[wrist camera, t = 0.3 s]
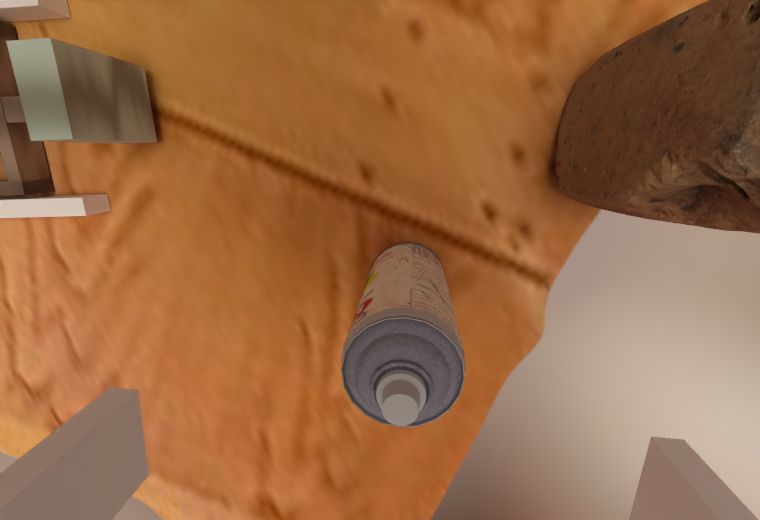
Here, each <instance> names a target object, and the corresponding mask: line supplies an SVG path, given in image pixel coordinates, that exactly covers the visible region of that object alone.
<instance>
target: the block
mask: <svg viewBox="0 0 760 520" xmlns="http://www.w3.org/2000/svg"><path fill="white" fill-rule="evenodd" d="M557 143H558V147H557V150H556V174H557V175H558V177H559V183H558V185H559V187H560V189H561V191H562V193H563V194H565V195H566V196H568V197H570V198H572V199H574V200H576V201H578V202H581V203H583V204H586V205H589V206H593V207H596V208H600V209H604V210H608V211H613V212H617V213H621V214H626V215H631V216H636V217H641V218H646V219H652V220H660V221H666V222H672V223H681V224H686V225H694V226H701V227H705V228H713V229H719V230H727V231H744V232H753V233H760V0H709V1H707V2H705V3H702V4H700V5H698V6H696V7H693V8H691V9H689V10H687V11H685V12H683V13H681V14H679V15H677V16H675V17H673V18H671V19H669V20H667V21H665V22H663V23H661V24H659V25H657V26H655V27H653V28H651V29H649V30H647V31H645V32H643V33H642V34H640V35H638V36H636V37H634V38H631V39H629V40H627V41H626V42H624V43H622V44H621V45H620V46H618V47H616V48H614V49H612V50H611V51H609V52H607V53H605V54H604V55H602V56H601V57H600V58H599V59H598V60H597V61H596V62H595V63H594V65H593V66H592V67H591V69H590V70H589V72H588V73H587V74H586V75H585V76H584V77H582V78H581V79H580V80H579V81H578V82H577V83H576V84H575V86H574V88H573V90H572V92H571V94H570V96H569V99H568V102H567V104H566V107H565V110H564V114H563V116H562V119H561V122H560V126H559V132H558V137H557Z"/></svg>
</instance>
